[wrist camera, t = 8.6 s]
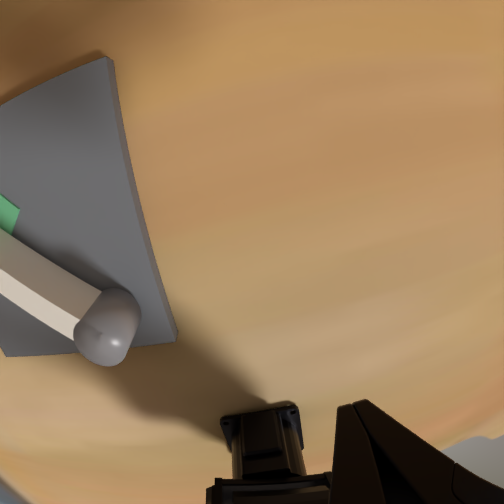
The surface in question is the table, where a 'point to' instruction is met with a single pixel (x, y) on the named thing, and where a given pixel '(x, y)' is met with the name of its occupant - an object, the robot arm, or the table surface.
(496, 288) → the table surface
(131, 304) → the light grey rounded bar
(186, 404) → the table surface
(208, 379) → the table surface
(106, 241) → the plate
